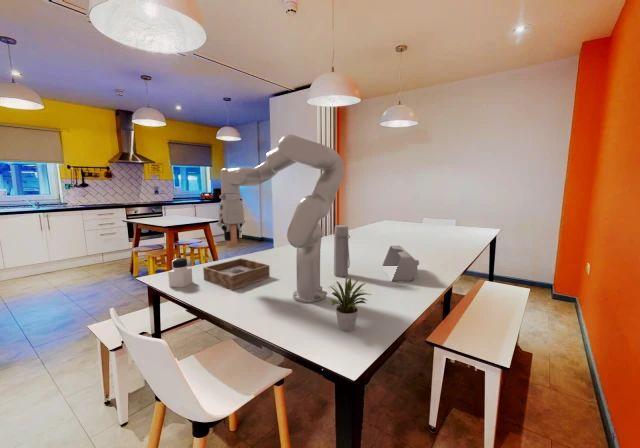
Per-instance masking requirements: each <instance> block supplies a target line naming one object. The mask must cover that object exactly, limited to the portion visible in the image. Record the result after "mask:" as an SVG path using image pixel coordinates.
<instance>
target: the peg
mask: <svg viewBox="0 0 640 448" xmlns="http://www.w3.org/2000/svg"><path fill="white" fill-rule="evenodd" d="M229 232H230V239H231V240H230V241H227V240H226V241H227V243H226V244H227V248H230V249H231V248H237V247H238V239H237V227H236V224H232V225H230V227H229Z"/></svg>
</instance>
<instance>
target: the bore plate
mask: <svg viewBox="0 0 640 448" xmlns="http://www.w3.org/2000/svg"><path fill="white" fill-rule="evenodd" d="M249 270H252V269H250V268H247V267H243V266H237V267H233V268H229V269H226V270H222V271H219V272H222V273H225V274H228V275H231V276H232V275H235V274H239V273H242V272H246V271H249Z"/></svg>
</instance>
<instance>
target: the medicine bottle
mask: <svg viewBox="0 0 640 448" xmlns="http://www.w3.org/2000/svg"><path fill="white" fill-rule="evenodd" d="M171 265H172V266H171V267H172V269H171V270H169V271H168V272H167V275H168V286H169V288H186V287H187V286H189V285H190V284H192V283H193V269H192V267H189V266H188V259H187V258H184V257H179V258H174V259H173V260H172V261H171Z"/></svg>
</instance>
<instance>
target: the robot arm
mask: <svg viewBox="0 0 640 448" xmlns="http://www.w3.org/2000/svg"><path fill="white" fill-rule="evenodd" d="M296 163H299V164H301V165H305V166H308V167H310V168H313V169H317V170H321V171H322V172H321V174H320V176H319V178H318V179H317V181H316V183H315V187H314V188H313V191H312V193H311V194H310V195H306V196H304V197H303V198H302V199H300V201H299V202H298V204H297V206H296V208H295V211H294V213H293V216H292V219H291V220H290V224H289V226H288V229H287V232H286V238H287V241H288V243H289V244H290V246H292V248H296V258H295V259H296V260H295V261H296V262H295V263H296V290H295V291H294V292H293V293H292V297H293V299H294V300H296V302H303V303H315V302H319V301H321V300H322V299H323V300H324V299H326V298H327V295H328V292H327V291H325V290H323V286H321V247H322V246H321V245H322V235H323V231H322V230H323V229H322V227H321V225H320V223H319V222H320V220H322V219H324V218H325V217H327V216H328V214H330V210H331V208H332V205H333V203H334V201H335V199H336V196H337V194H338V191H339V188H340V186H341V184H342V181H343V178H344V173H345V165H344V161H343V159H342V157H341V155H339V153H338V152H337V151H336V150H335V149H334V148H331V147H329V146H327V145H325V144H322V143H319V142H315V141H314V140H309V139H306V138H303V137H300V136H298V135H296V134H292V133H291V134H290V133H289V134H286V135H284V136H282V137H281V138H280V140H279V141H278V144H277V147H275V148H273V149H271V150H269V151H268V152H267V153H266V154H265V161H264V162H262V163H261V164H260V165H257V166H256V167H243V166H242V167H235V168H233V167H224V168H222V169H220V192H221V194H219V196H218V197H219V199H221V201H220V202H219V210H218V222H216V226H217V227H218V228H220V229H221V230H222V231H223V234H224V235H223V237H224V240H225V241H230V240H231V239H230V232H229V227H230V225H232V224H236V227H237V240H240V230H241V229H242V226H244V225H245V224H246V220H245V212H244V205H243V202H242V201H243V200H241V194H240V193H241V192H240V187H251V186H252V187H253V186H255V187H256V186H258V185H261V184H264V183H265V182H268V181H269V180H271V179H272V178H273V177H275V176H276V175H277V174H278V173H279V172H281V171H282V170H284V169H286V168H288V167H290V166H292V165H294V164H296Z"/></svg>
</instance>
